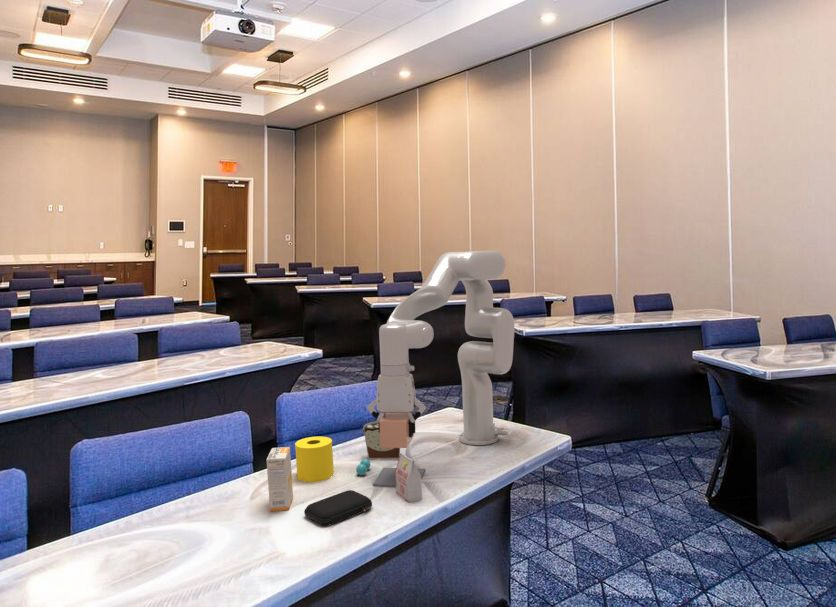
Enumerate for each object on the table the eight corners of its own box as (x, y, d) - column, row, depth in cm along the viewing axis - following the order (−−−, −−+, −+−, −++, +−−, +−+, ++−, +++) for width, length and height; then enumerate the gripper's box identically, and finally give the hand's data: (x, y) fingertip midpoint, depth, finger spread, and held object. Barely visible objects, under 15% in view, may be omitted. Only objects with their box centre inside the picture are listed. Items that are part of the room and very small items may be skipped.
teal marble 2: (368, 472, 164) (367, 462, 163) (365, 477, 161) (365, 466, 160) (358, 472, 164) (357, 462, 164) (355, 476, 161) (354, 466, 161)
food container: (406, 451, 180) (405, 419, 179) (404, 458, 174) (403, 425, 173) (367, 451, 181) (365, 420, 180) (363, 458, 175) (361, 426, 174)
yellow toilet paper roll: (302, 485, 157) (300, 450, 156) (293, 473, 166) (291, 440, 165) (338, 477, 161) (336, 443, 160) (327, 466, 170) (325, 434, 169)
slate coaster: (425, 470, 164) (425, 468, 164) (417, 487, 152) (417, 485, 152) (383, 469, 166) (383, 467, 166) (372, 486, 154) (372, 484, 154)
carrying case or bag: (326, 532, 130) (378, 510, 140) (325, 519, 130) (378, 498, 140) (301, 517, 138) (352, 498, 148) (300, 504, 138) (351, 486, 148)
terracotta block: (413, 436, 162) (412, 411, 162) (406, 448, 152) (405, 421, 152) (388, 435, 163) (387, 411, 163) (380, 447, 154) (379, 421, 153)
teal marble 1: (372, 467, 168) (371, 457, 167) (369, 471, 165) (368, 461, 164) (361, 467, 168) (361, 457, 168) (359, 471, 165) (358, 460, 165)
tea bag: (409, 489, 151) (407, 451, 150) (421, 498, 145) (420, 459, 144) (396, 493, 149) (394, 454, 148) (408, 502, 143) (406, 462, 142)
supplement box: (274, 497, 149) (271, 447, 148) (293, 496, 150) (290, 446, 149) (269, 512, 141) (265, 458, 140) (289, 510, 141) (286, 457, 140)
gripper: (429, 367, 159) (431, 432, 160) (366, 367, 162) (369, 431, 163) (424, 372, 151) (427, 440, 153) (359, 372, 154) (362, 439, 156)
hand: (397, 435), depth 158 cm, fingers closed on terracotta block, 7 cm apart
